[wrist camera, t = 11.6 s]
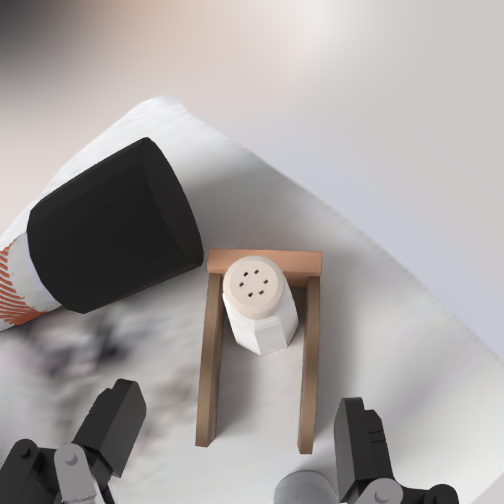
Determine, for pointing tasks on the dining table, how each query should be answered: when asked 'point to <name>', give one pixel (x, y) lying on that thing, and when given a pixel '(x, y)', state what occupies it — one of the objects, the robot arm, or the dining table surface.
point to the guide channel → (219, 260)
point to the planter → (305, 489)
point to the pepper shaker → (259, 305)
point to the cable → (100, 238)
